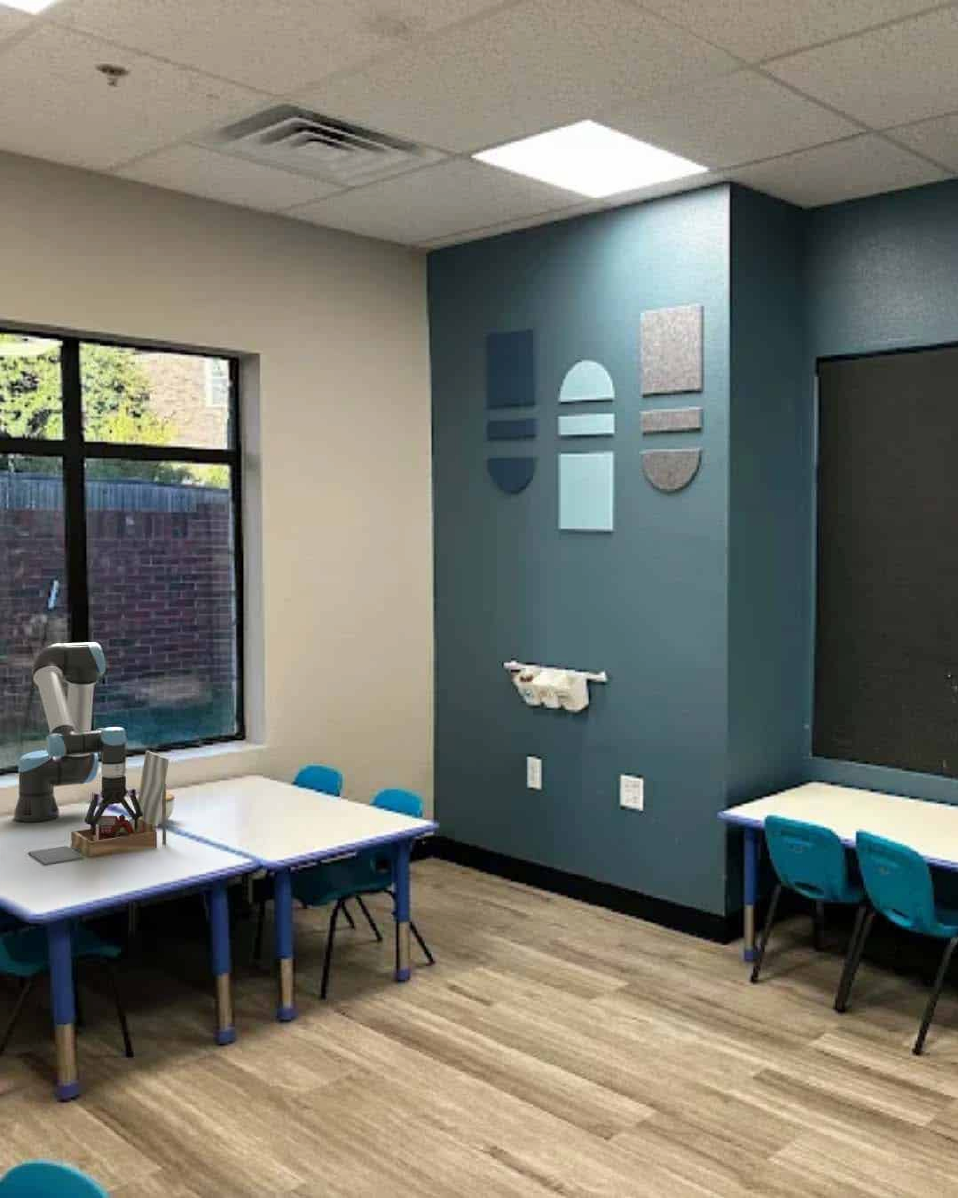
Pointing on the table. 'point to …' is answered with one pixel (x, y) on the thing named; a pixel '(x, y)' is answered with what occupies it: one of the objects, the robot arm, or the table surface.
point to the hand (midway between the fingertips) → (114, 841)
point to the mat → (55, 855)
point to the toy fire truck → (114, 827)
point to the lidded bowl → (167, 806)
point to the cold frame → (145, 833)
